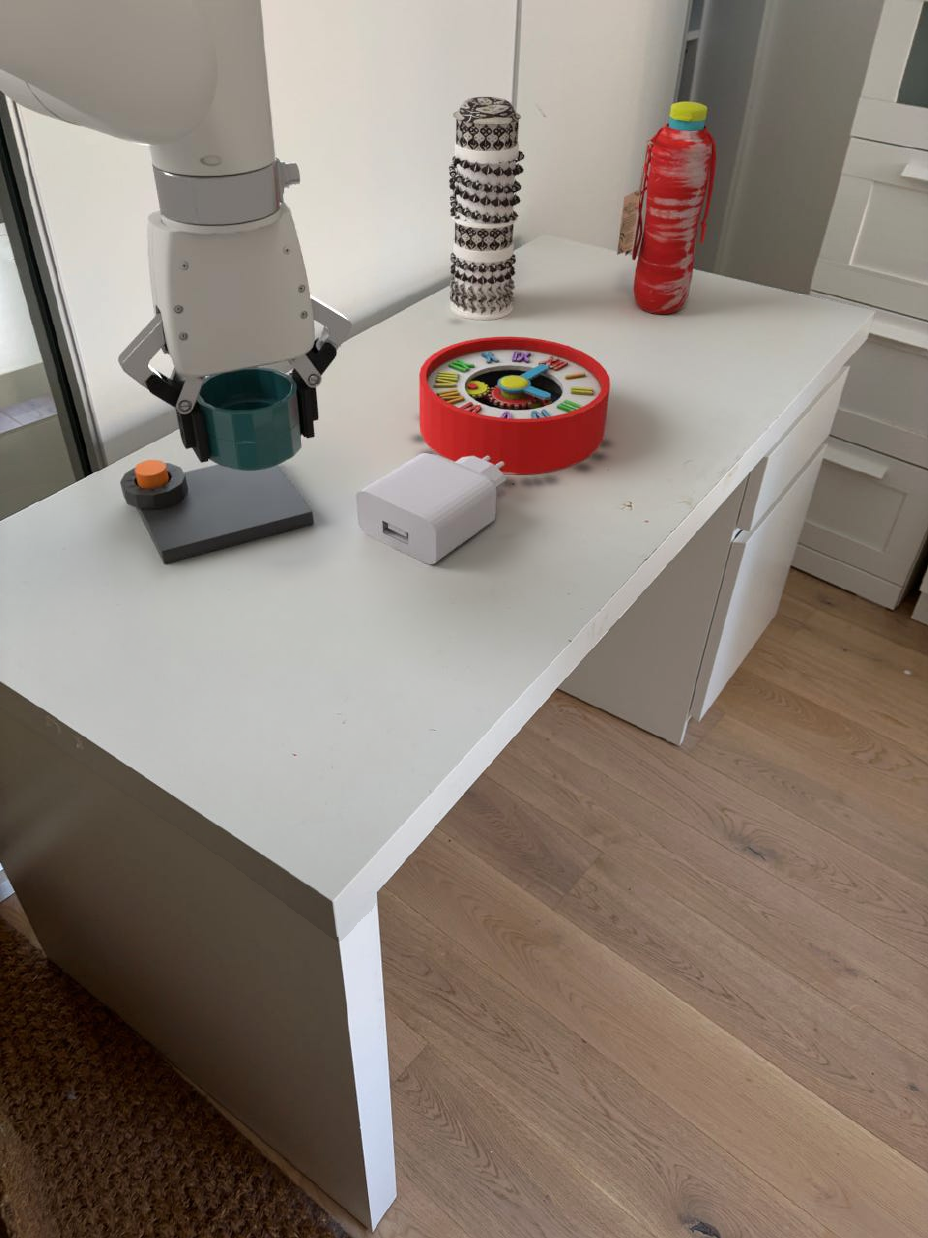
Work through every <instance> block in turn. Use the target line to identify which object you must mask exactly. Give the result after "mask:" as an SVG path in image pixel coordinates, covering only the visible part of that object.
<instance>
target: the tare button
mask: <svg viewBox="0 0 928 1238" xmlns="http://www.w3.org/2000/svg"><path fill="white" fill-rule="evenodd" d="M165 463H166V462H164V461H163V460H158V459H148V460H144V461H141V462H139V463H138V464H136V465H135V467H134V468H135V473H136V478H137V482H138V485H139V486H140V487H142V488H156V487H160V486H163V485H165V484H167V483H168V481H169V477H168V472H167V468H166V464H165Z"/></svg>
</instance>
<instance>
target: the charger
mask: <svg viewBox="0 0 928 1238" xmlns="http://www.w3.org/2000/svg"><path fill="white" fill-rule="evenodd" d="M488 460H490V457H489V456H486V457H484V458H483V459H480V458H477V457H475V456H468V457H462V458H460V459H459V460H457V461H456V462H453V461H451V460H448V459H446V458H445V457H443V456H441V455H439V454H433V453H426V452H422V453H420V454H417V455H416V456H415V457H413V458H411V459H410V460H408V461H406V462H405V463H403V464H401V465H400V466H398V467H396V468H395V469H393V470H391V471H390V472H389V473H387V474H385V475H384V476H382V477H380V478H379V479H377V480H375V481H373V482H372V483H370V484H369V485H367V486H366V487H364V488H362V489H361V490H359V491H357V492H356V513H357V524H358V527H359V528H360V530H362V532H363V533H364V534H366V535H367V536H369V537H370V538H372V539H375V540H376V541H378V542H380V543H383V544H385V545H387V546H389V547H391V548H393V549H395V550H396V551H399V552H401V553H403V554H405V555H407V556H409V557H411V558H412V559H415V560H417V561H419V562H421V563H423V564H427V565H434V564H436V563H437V562H439V561H440V560H441V559H443V558H444V557H446V556H447V555H449V554H450V553H451V552H453V551H454V550H455V549H457V548H458V547H459V546H461V545H462V544H464V543H465V542H466V541H468V540H469V539H470V538H472V537H473V536H475V535H476V534H477V533H479V532H480V531H481V530H483V529H484V528H485V527H487V526H488V525H489V524H491V523H492V522H494V521H495V519H496V510H497V509H496V508H497V487H499V486H500V485H502V484H503V483H504V482H505V481H507V477H506V476H505V474H503V473H502V472H501V471H500V470H499V468H501V467H502V466H504V462H502V461H501V462H499V463H498V464H496V465H494V464H492V463H490V462H487V461H488Z"/></svg>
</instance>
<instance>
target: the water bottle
mask: <svg viewBox="0 0 928 1238" xmlns="http://www.w3.org/2000/svg"><path fill="white" fill-rule="evenodd" d="M707 112H708V106H707V105H705V104H704V103H703V104H702V103H700V102H695V101H679V102H674V103H672V104H671V106H670V110H669V122H668V123H665V125H664V126H663V127H661V128H659V129H658V131H657V133H655V135H654V136H653V137H652V138H650V139H649V140H646V141H645V144H646V147H645V151H644V156H643V161H642V168H641V174H640V179H639V186H638V190H636V191H633V192H631V193H629V194H627V195H625V196H624V197H623V204H622V212H621V220H620V228H619V234H618V235H619V236H618V243H617V252H616V255H617V256H619V255H621V254H624V253H625V255H624V257H626V256H628V255H629V253H631V252H632V255H631V259H632V261H635V260H637V262H636V266H635V272H634V282H633V294H634V299H635V303H636V305H637V306H638V307H639V308H640V309H641V310H642V311H644V312H647V313H649V314H654V315H670V314H674V313H676V312H678V311H680V310H681V309H682V307H683V306H684V304H685V302H686V301H687V298H688V297H689V295H690V289H691V285H692V279H693V273H694V265H695V264H694V263H695V254H696V245H697V235H698V229H699V224H700V226H701V229H700V230H701V231H700V238H699V239H700V240H699V243H700V244H701V245H702V244H703V243H704V240H705V236H706V230H707V223H706V222H707V221H706V220H707V218H708V216H709V211H710V206H711V200H712V195H713V190H714V182H715V173H716V168H717V167H716V166H717V146H716V142H715V139H714V137H713V136H712V134H711V133H710V132H709V129H708V126H706V125H705V122H706V119H707ZM645 193H646V201H645V202H646V203H645V207H646V208H645V216H644V222H643V214H642V211H643V206H644V198H645ZM706 195H707V196H706ZM705 198H706V199H705ZM705 200H706V202H705ZM704 202H705V208H704V213H703V218H702V220H701V222H700V218H701V214H702V210H703V206H704ZM637 256H638V257H637Z"/></svg>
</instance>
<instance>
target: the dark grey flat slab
mask: <svg viewBox="0 0 928 1238" xmlns="http://www.w3.org/2000/svg"><path fill="white" fill-rule="evenodd" d="M164 463H165V464H166V468H167V472H168V477H169V481H168V483H167V484H165V485H163V486H160V487H156V488H142V487H140V486H139V485H138V482H137V478H136V473H135V467H134V468H132V469H130V470H128V471H126V472H125V473H124V475H123V476H122V478H121V480H120V481H119V483H120V488H121V492H122V497H123V498H124V500H125V502H126V504H127V505H129V506H132V507H133V508H135V509H136V511H137V513H138V514H139V516H140V519H141V520H142V522H143V524H144V526H145V529H146V530H147V532H148V534H149V537H150V538H151V540H152V543H153V544H154V546H155V549H156V551H157V552H158V555H159V556H160V558H161V561H162V563H163V564H164V565H167V564H170V563H173V562H178V561H181V560H185V559H188V558H193V557H197V556H199V555H204V554H207V553H212V552H214V551H218V550H222V549H225V548H230V547H235V546H237V545H240V544H244V543H249V542H252V541H255V540H259V539H262V538H267V537H270V536H274V535H278V534H281V533H285V532H289V531H293V530H296V529H300V528H304V527H308V526H312V525H314V524H315V521H314V512H313V510H312V508H311V507H310V506H309V505H308V503H307V501H305V499H304V498H303V496H302V494H301V493H300V492H299V491H298V490H297V488H296V487H295V486H294V484H293V483H292V481H291V480H290V479H289V477H288V476H287V475H286V474H285V472H284V471H283V469H282V468H281V467H280V465H277V466H274V467H271V468H268V469H263V470H255V471H242V470H235V469H231V468H228V467H223V466H220V465H219V464H214V465H209V466H205V467H202V468H197V469H193V470H189V471H183V468H182V467H180V466H178V465H175V464H173V463H170V462H164Z"/></svg>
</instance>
